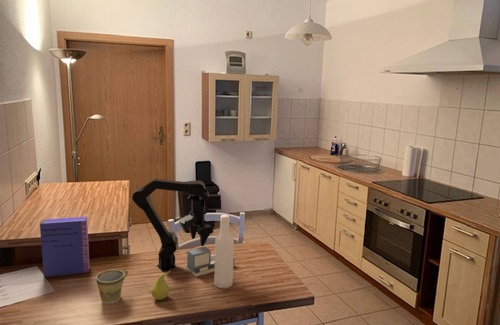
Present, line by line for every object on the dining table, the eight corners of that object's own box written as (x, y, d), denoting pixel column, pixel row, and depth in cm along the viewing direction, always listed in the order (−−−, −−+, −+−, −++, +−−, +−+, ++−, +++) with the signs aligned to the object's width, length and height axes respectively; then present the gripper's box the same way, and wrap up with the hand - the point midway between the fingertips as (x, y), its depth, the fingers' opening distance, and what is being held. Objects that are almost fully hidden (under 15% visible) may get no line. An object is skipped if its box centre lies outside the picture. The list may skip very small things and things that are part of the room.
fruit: (154, 293, 148) (153, 265, 146) (173, 294, 148) (172, 266, 146) (149, 302, 142) (148, 273, 139) (169, 303, 141) (168, 274, 139)
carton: (187, 267, 167) (187, 250, 165) (205, 262, 172) (205, 246, 171) (192, 272, 163) (192, 255, 161) (210, 267, 168) (210, 250, 167)
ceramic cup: (108, 310, 136) (107, 284, 134) (91, 301, 141) (90, 276, 139) (136, 294, 147) (135, 270, 145) (119, 286, 152) (118, 263, 150)
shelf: (195, 276, 162) (195, 269, 161) (185, 267, 170) (185, 260, 169) (234, 265, 174) (234, 258, 173) (222, 257, 182) (222, 250, 181)
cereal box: (89, 267, 167) (87, 216, 163) (88, 272, 163) (85, 219, 158) (46, 272, 162) (42, 219, 157) (43, 277, 157) (39, 223, 153)
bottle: (236, 281, 159) (238, 214, 153) (227, 290, 152) (229, 220, 146) (219, 277, 162) (221, 211, 156) (210, 285, 155) (211, 217, 149)
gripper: (172, 206, 169) (172, 238, 172) (190, 218, 154) (190, 253, 157) (195, 202, 175) (194, 234, 178) (214, 214, 160) (213, 248, 163)
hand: (197, 242), depth 169 cm, fingers open, 9 cm apart
